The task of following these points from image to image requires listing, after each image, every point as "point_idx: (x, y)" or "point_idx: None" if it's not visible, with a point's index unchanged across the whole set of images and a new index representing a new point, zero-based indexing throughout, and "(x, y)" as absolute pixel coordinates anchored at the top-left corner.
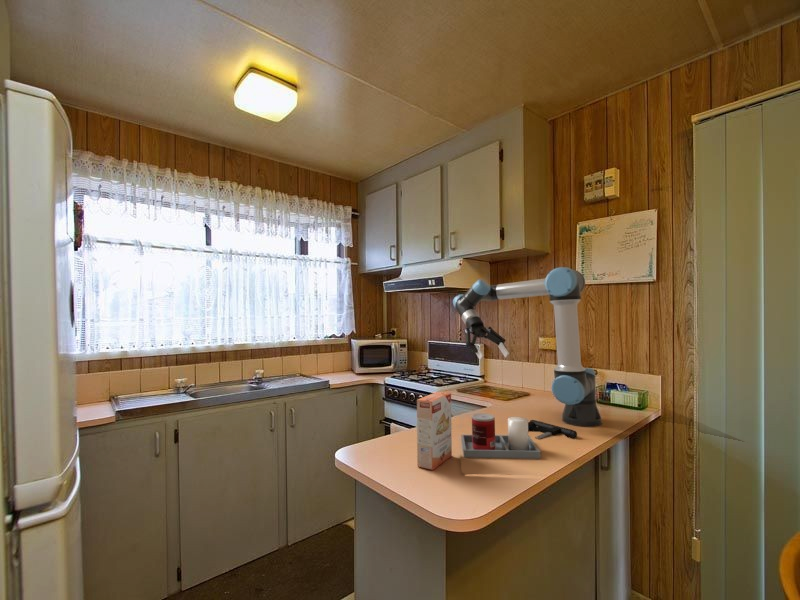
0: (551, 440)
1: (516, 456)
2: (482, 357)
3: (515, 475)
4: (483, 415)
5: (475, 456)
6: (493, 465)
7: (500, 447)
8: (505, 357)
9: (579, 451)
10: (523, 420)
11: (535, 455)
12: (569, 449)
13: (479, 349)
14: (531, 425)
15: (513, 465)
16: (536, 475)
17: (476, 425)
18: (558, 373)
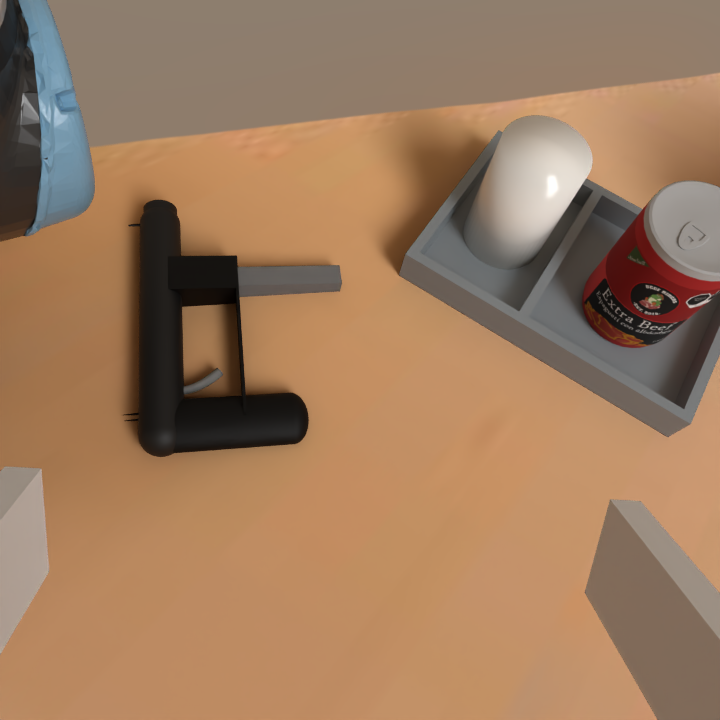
0: (276, 256)
1: None
2: (605, 537)
3: (629, 134)
4: (688, 246)
5: None
6: None
7: (554, 284)
8: (43, 568)
9: (292, 138)
10: (531, 131)
11: None
12: (306, 165)
13: (706, 603)
14: (241, 374)
15: (592, 178)
16: (572, 107)
17: None
18: (8, 47)
